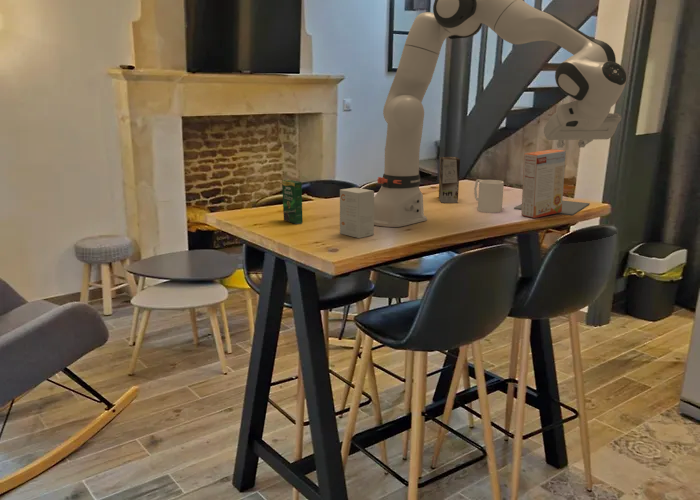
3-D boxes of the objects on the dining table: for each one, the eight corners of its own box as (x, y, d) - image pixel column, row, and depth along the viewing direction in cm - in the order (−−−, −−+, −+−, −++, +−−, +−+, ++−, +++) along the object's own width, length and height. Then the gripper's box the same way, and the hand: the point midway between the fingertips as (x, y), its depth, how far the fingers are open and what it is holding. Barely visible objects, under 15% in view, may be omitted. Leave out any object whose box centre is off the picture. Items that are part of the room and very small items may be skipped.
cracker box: (547, 209, 212) (552, 148, 206) (562, 212, 207) (567, 150, 201) (519, 215, 205) (523, 152, 199) (533, 218, 200) (538, 154, 194)
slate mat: (572, 215, 206) (572, 214, 205) (513, 209, 216) (514, 207, 216) (589, 204, 225) (589, 203, 225) (534, 199, 236) (535, 197, 235)
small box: (374, 235, 178) (374, 190, 174) (358, 238, 174) (358, 192, 170) (355, 230, 184) (355, 187, 180) (339, 233, 179) (339, 189, 176)
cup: (482, 205, 223) (483, 177, 220) (506, 211, 213) (508, 182, 210) (465, 207, 218) (466, 179, 216) (489, 213, 209) (491, 184, 206)
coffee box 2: (458, 203, 227) (460, 159, 223) (441, 202, 227) (442, 158, 223) (454, 198, 236) (456, 156, 232) (438, 198, 236) (439, 156, 232)
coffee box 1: (282, 220, 197) (281, 179, 194) (290, 219, 199) (289, 178, 195) (295, 224, 191) (294, 182, 188) (303, 223, 192) (302, 181, 189)
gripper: (621, 105, 175) (600, 137, 187) (552, 105, 173) (535, 138, 185) (627, 122, 172) (606, 153, 184) (557, 122, 170) (540, 154, 182)
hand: (570, 145), depth 184 cm, fingers open, 5 cm apart
